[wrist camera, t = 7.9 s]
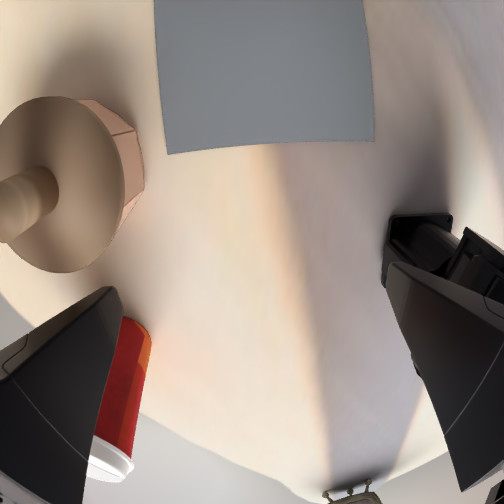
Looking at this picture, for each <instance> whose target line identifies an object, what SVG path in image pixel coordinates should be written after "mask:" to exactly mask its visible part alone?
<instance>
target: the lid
mask: <svg viewBox="0 0 504 504" xmlns="http://www.w3.org/2000/svg"><path fill="white" fill-rule="evenodd" d="M124 199H125V180H124V172H123V166H122V162H121V158H120V154H119V152H118V149H117V146H116V143H115V142H114V140H113V138H112V136H111V134H110V132H109V130H108V129H107V127H106V126H105V124H104V123H103V122H102V121H101V119H100V118H99V117H98V116H97V115H96V114H95V113H94V112H93V111H91V110H90V109H89V108H88V107H86V106H85V105H83V104H81V103H80V102H78V101H75V100H72V99H70V98H65V97H40V98H35V99H32V100H29V101H27V102H25V103H23V104H22V105H20V106H18V107H17V108H16V109H14V110H13V111H12V112H11V113H10V114H9V115H8V116H7V117H6V118H5V120H4V121H3V122H2V124H1V125H0V242H1V243H7V244H8V245H9V246H10V247H11V249H12V250H13V251H14V252H15V253H16V254H17V255H18V256H20V257H21V258H22V259H23V260H25V261H26V262H28V263H29V264H31V265H33V266H34V267H37V268H39V269H41V270H44V271H48V272H53V273H69V272H74V271H77V270H80V269H83V268H84V267H86V266H88V265H90V264H91V263H92V262H93V261H95V260H96V259H97V258H98V257H99V256H100V254H101V253H102V252H103V251H104V250H105V249H106V248H107V246H108V245H109V244H110V242H111V241H112V239H113V237H114V235H115V233H116V231H117V229H118V227H119V224H120V221H121V218H122V213H123V208H124Z"/></svg>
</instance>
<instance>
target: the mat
mask: <svg viewBox="0 0 504 504" xmlns="http://www.w3.org/2000/svg"><path fill="white" fill-rule="evenodd" d="M154 15H155V35H156V50H157V64H158V76H159V86H160V96H161V106H162V115H163V123H164V131H165V139H166V147H167V154H168V155H170V154H176V153H183V152H191V151H198V150H206V149H214V148H224V147H233V146H244V145H256V144H270V143H287V142H313V141H374V109H373V89H372V75H371V63H370V53H369V44H368V36H367V28H366V21H365V14H364V8H363V2H362V0H154Z"/></svg>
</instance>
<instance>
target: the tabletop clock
mask: <svg viewBox="0 0 504 504" xmlns="http://www.w3.org/2000/svg"><path fill="white" fill-rule="evenodd" d="M371 483H372V481H371V480H370V479H368V480H366V481H365V484H366V485H367V486H366V489H365V492H364V493H360V494H356V495H352V493H353V490H352V489H349V490H348V491H347V493H348V494H349V495H350V496H347V497H345V498H342V499H339V500H336V501H333V500H332V499H331V498H329V497H328V496H329V494H328V493H327V492H325V493H323V494H322V497H323V498H327V499H328V500H329V502H330V503H328V504H382V502H381V501H380V499H379V497H378V496H377V495H376V494H375V493H374V492H368V488H369V485H370V484H371Z"/></svg>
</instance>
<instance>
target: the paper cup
mask: <svg viewBox="0 0 504 504" xmlns="http://www.w3.org/2000/svg"><path fill="white" fill-rule="evenodd" d="M150 351H151V339H150V336H149V334H148V333H147V331H146V330H145V329H144V328H143V327H142V326H141V325H140V324H139V323H137V322H136V321H134V320H132V319H130V318H127V317H124V316H122V320H121V325H120V330H119V335H118V340H117V345H116V350H115V354H114V357H113V361H112V364H111V368H110V371H109V375H108V378H107V382H106V386H105V390H104V393H103V397H102V401H101V405H100V409H99V414H98V418H97V422H96V427H95V431H94V436H93V441H92V446H91V451H90V456H89V461H87V462H88V468H87V474H86V476H88V477H91V478H94V479H97V480H101V481H106V482H121V481H122V480H123V479H124V478H125V477H126V475H127V474H128V473H129V472H131V471H132V470H133V468H134V463H133V461H132V460H131V455H132V448H133V441H134V436H135V430H136V423H137V418H138V413H139V407H140V402H141V397H142V391H143V386H144V381H145V376H146V371H147V366H148V362H149V356H150Z"/></svg>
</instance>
